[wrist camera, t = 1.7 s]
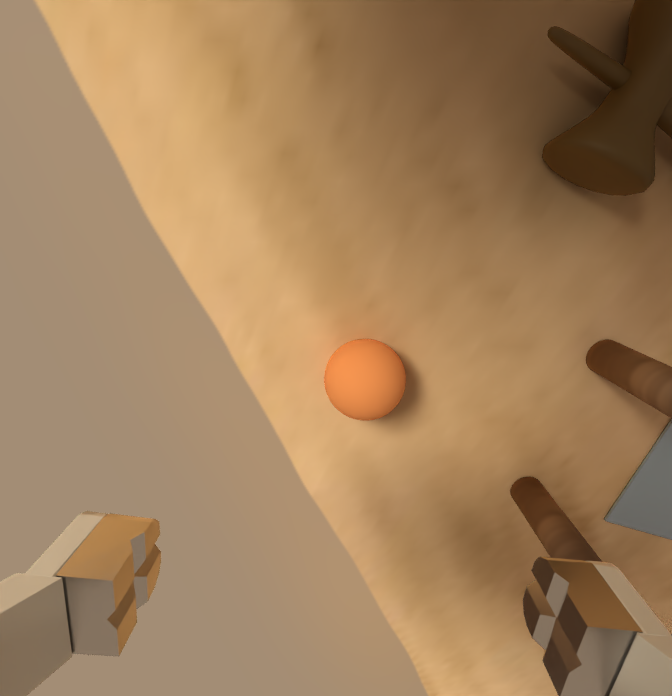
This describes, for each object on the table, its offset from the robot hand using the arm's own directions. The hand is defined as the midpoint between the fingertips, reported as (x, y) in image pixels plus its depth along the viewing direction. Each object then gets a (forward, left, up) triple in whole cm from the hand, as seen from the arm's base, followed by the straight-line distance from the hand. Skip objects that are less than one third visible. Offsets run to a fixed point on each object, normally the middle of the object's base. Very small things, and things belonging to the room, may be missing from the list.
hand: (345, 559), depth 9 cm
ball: (+3, -3, -18) cm, 19 cm away
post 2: (+20, +4, -21) cm, 29 cm away
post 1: (+20, -9, -21) cm, 31 cm away
